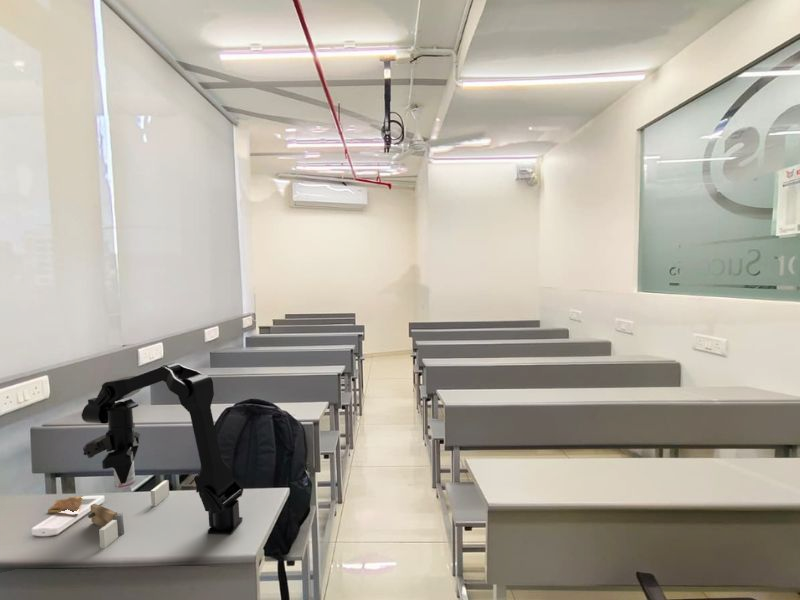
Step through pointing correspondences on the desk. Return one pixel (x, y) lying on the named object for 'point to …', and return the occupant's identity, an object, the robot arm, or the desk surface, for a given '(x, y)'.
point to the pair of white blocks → (116, 525)
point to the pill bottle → (129, 481)
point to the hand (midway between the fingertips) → (125, 479)
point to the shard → (66, 504)
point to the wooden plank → (101, 515)
